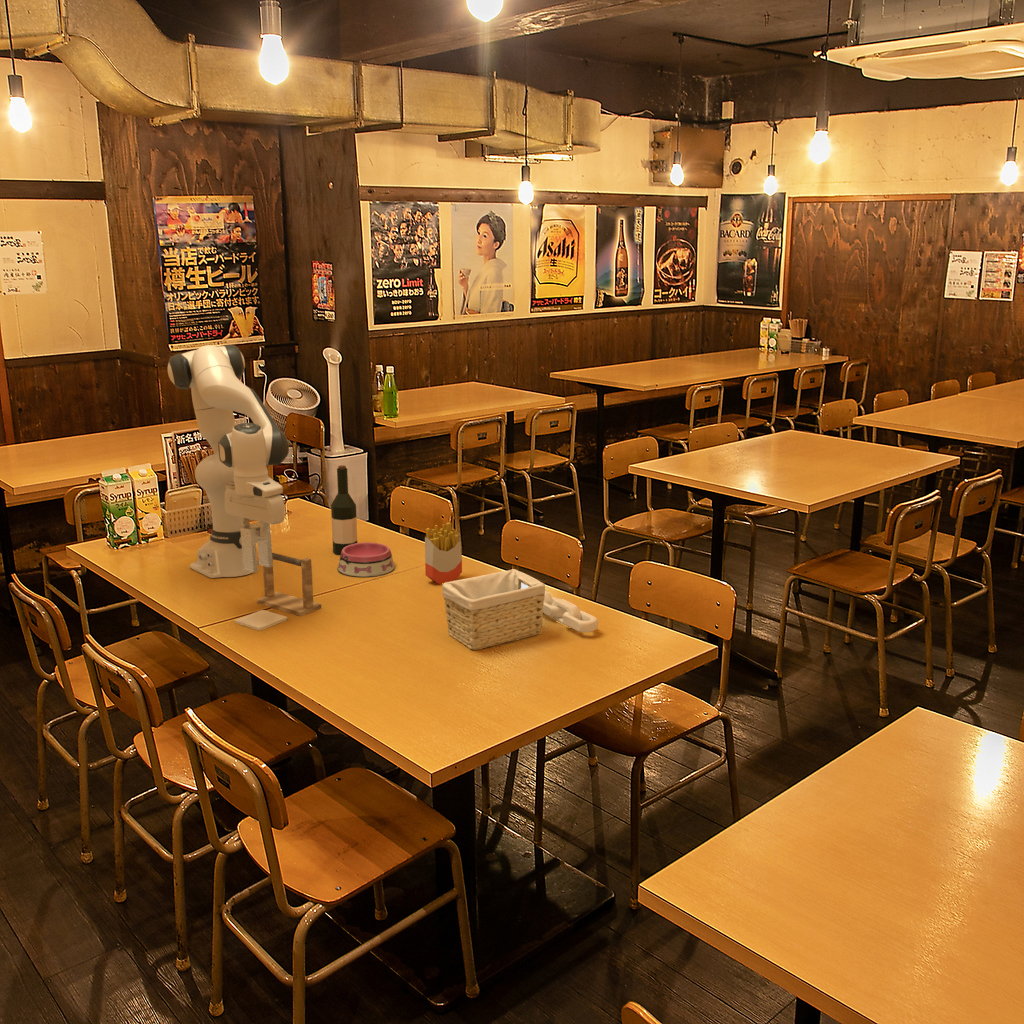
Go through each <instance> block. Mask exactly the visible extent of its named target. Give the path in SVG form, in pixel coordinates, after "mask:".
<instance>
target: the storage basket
mask: <svg viewBox="0 0 1024 1024" xmlns="http://www.w3.org/2000/svg"><path fill="white" fill-rule="evenodd" d="M522 584H523V585H525V586H527V587H525V588H522ZM528 587H529V588H528ZM441 588H442V597H443V600H444V604H445V613H446V615H445V617H446V621H447V631H448V634H449V636H450V637H452V638H453V639H455V640H456V641H458V642H459V643H460V644H462V645H464V646H465V645H466V647H467V648H468V647H469V648H468V649H470V650H472V651H477V650H483V648H484V649H486V648H491V647H493V646H499V645H502V644H505V643H509V642H513V640H515V641H518V640H521V639H525V638H528V637H529V638H530V637H534V636H536V635H540V634H541V633H542V627H543V626H542V625H543V615H544V614H543V605H544V599H545V595H544V594H545V590H546V584H545V583H544V582H542V581H540V580H539V579H536V578H534V577H533V576H531V575H529V574H527V573H524V572H523V571H520V570H518V569H514V568H512V569H509V570H504V571H498V572H492V573H489V574H484V575H479V576H473V577H469V578H462V579H456V580H455V581H451V582H446V583H444V584H441ZM517 639H518V640H517ZM501 643H502V644H501Z"/></svg>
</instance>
